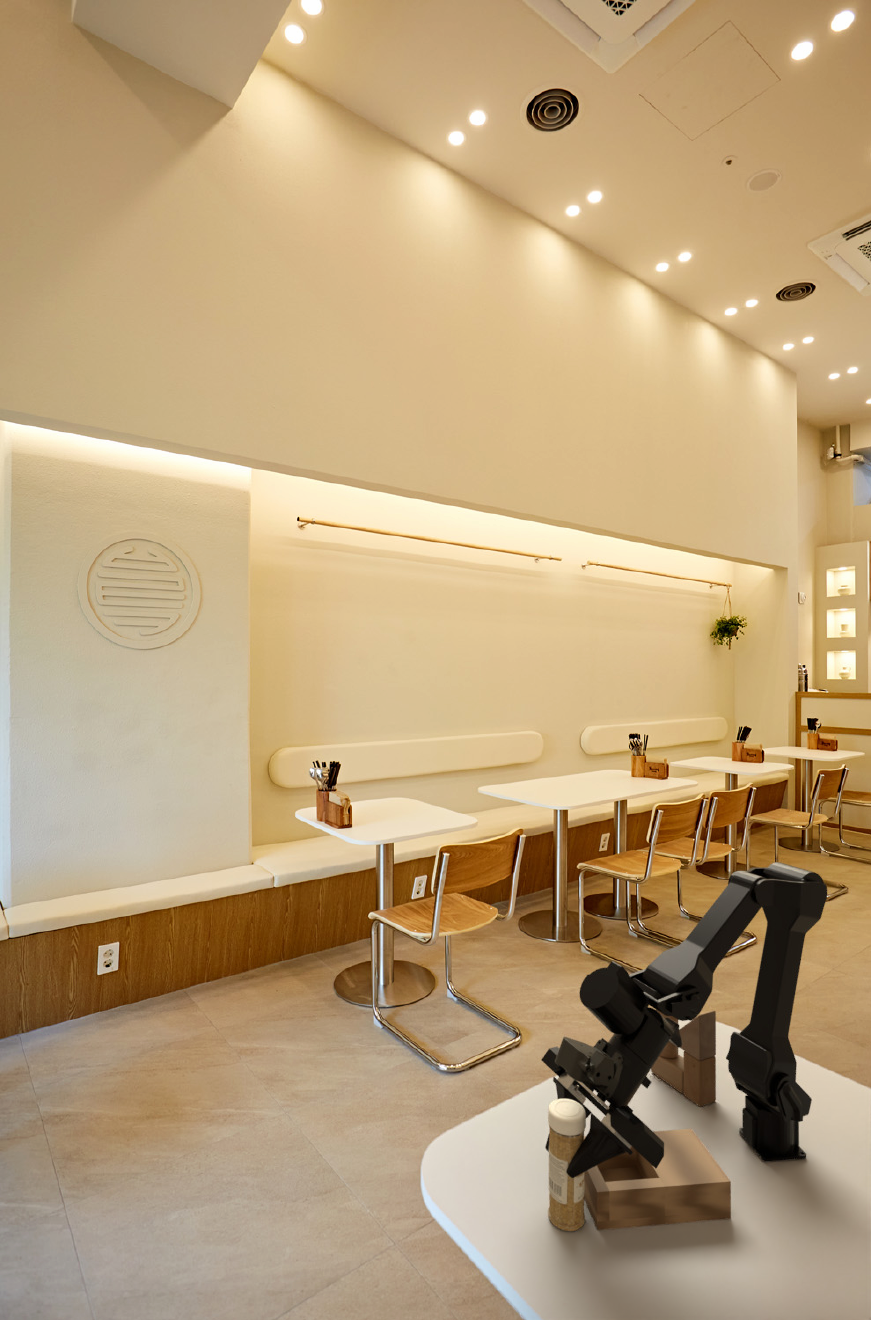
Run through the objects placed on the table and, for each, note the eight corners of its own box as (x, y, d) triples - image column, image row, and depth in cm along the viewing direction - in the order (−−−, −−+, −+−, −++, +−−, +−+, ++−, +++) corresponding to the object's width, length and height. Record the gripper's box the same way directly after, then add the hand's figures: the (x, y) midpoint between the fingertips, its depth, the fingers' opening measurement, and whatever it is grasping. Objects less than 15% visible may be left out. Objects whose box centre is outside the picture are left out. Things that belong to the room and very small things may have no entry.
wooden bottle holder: (691, 1162, 95) (691, 1128, 95) (730, 1218, 85) (730, 1181, 85) (571, 1171, 93) (571, 1137, 93) (597, 1230, 83) (597, 1192, 83)
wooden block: (700, 1108, 107) (699, 990, 108) (650, 1072, 117) (650, 964, 117) (717, 1102, 109) (716, 986, 109) (666, 1067, 118) (666, 961, 119)
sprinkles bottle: (591, 1229, 83) (592, 1117, 83) (555, 1236, 82) (557, 1122, 82) (575, 1201, 88) (576, 1094, 88) (541, 1207, 87) (542, 1099, 87)
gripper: (553, 985, 96) (481, 1084, 91) (644, 1053, 79) (562, 1180, 74) (600, 1032, 99) (533, 1130, 94) (697, 1107, 81) (621, 1232, 77)
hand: (558, 1163), depth 85 cm, fingers closed on sprinkles bottle, 4 cm apart
